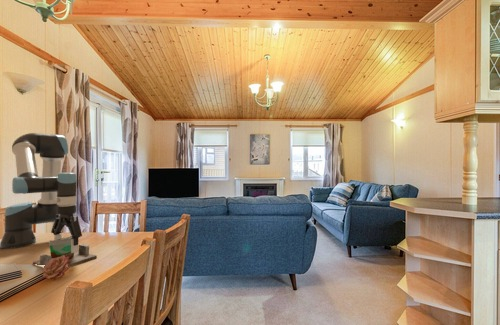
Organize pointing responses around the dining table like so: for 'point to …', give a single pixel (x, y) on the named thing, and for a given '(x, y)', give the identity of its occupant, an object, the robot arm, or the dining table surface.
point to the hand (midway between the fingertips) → (65, 250)
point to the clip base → (77, 259)
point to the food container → (61, 248)
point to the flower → (56, 267)
